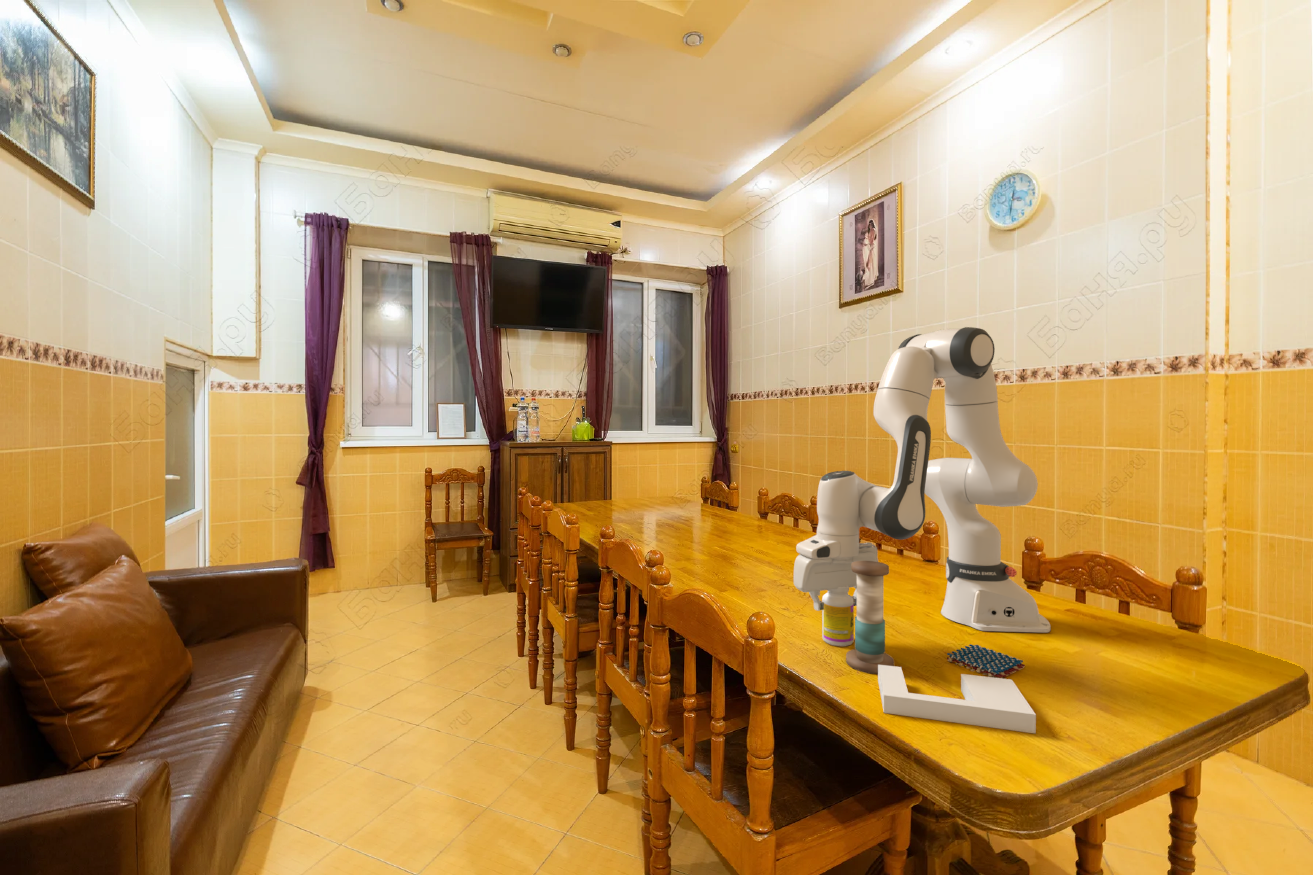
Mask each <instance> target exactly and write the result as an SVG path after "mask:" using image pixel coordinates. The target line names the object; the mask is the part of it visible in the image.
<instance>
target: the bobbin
mask: <svg viewBox="0 0 1313 875" xmlns="http://www.w3.org/2000/svg"><path fill="white" fill-rule="evenodd" d="M851 570H852V571H853V572H854V573H857V606H856V616H855V617H854V649H850V650H848V651H847V652H846V654H845V663H846V664H847V666H849V667H850V668H852V669H854V670H855V671H859V672H862V673H866V674H872V675H878V665H887V666H895V660H894V657H893V656H891V655H890V654H888V653H886V620H885V619H884V576H888V575H889V574H890V566H889V565H888V564H887V563H884V562H879V561H878V562H875V561H855V562H852V563H851Z"/></svg>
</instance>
